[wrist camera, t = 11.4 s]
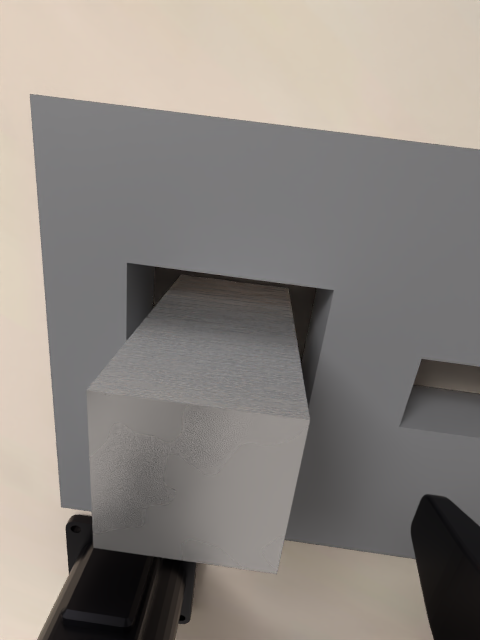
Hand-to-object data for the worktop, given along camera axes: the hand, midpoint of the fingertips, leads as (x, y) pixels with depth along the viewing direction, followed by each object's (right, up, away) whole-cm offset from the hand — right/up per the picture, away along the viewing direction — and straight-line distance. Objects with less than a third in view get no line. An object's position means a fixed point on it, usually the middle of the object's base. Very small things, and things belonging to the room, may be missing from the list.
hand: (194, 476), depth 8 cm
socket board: (+5, +2, +7) cm, 9 cm away
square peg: (0, +3, +7) cm, 8 cm away
